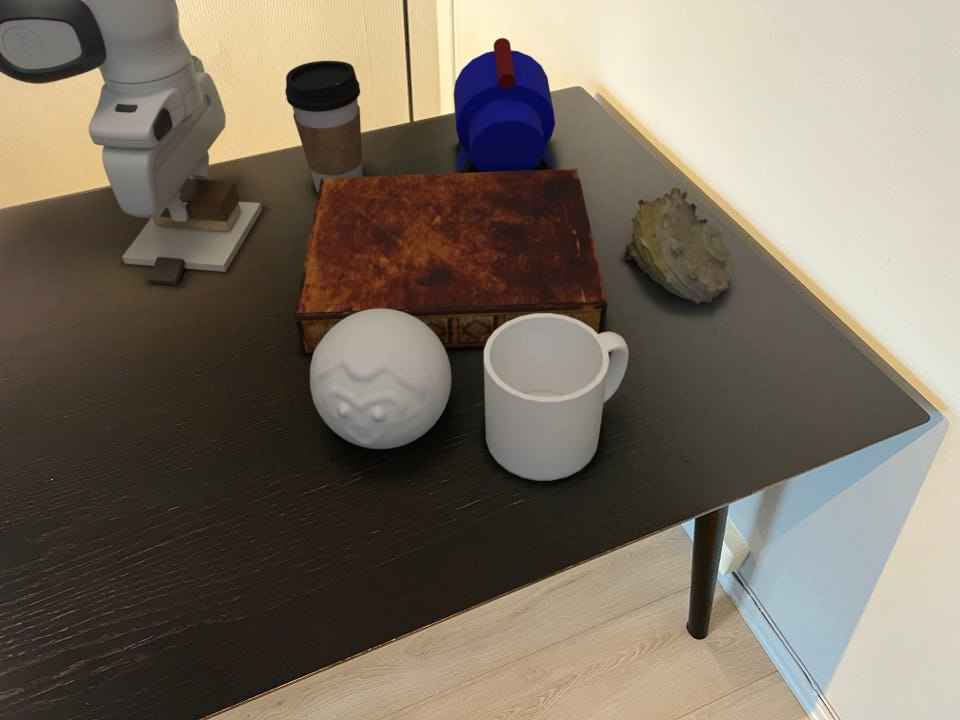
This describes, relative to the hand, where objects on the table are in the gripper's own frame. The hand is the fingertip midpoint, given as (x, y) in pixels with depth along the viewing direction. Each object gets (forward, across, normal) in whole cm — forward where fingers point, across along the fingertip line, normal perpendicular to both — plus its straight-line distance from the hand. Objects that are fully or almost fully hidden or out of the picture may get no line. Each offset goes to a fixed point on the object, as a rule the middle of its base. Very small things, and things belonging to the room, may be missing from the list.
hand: (192, 203), depth 92 cm
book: (+3, +5, +31) cm, 32 cm away
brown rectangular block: (+2, 0, 0) cm, 2 cm away
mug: (+3, +26, +44) cm, 51 cm away
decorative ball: (+4, +27, +29) cm, 40 cm away
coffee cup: (+4, -10, +14) cm, 18 cm away
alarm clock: (+3, -17, +34) cm, 38 cm away
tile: (+3, +2, 0) cm, 4 cm away
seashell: (+3, +2, +55) cm, 55 cm away
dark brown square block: (+3, +9, 0) cm, 10 cm away
